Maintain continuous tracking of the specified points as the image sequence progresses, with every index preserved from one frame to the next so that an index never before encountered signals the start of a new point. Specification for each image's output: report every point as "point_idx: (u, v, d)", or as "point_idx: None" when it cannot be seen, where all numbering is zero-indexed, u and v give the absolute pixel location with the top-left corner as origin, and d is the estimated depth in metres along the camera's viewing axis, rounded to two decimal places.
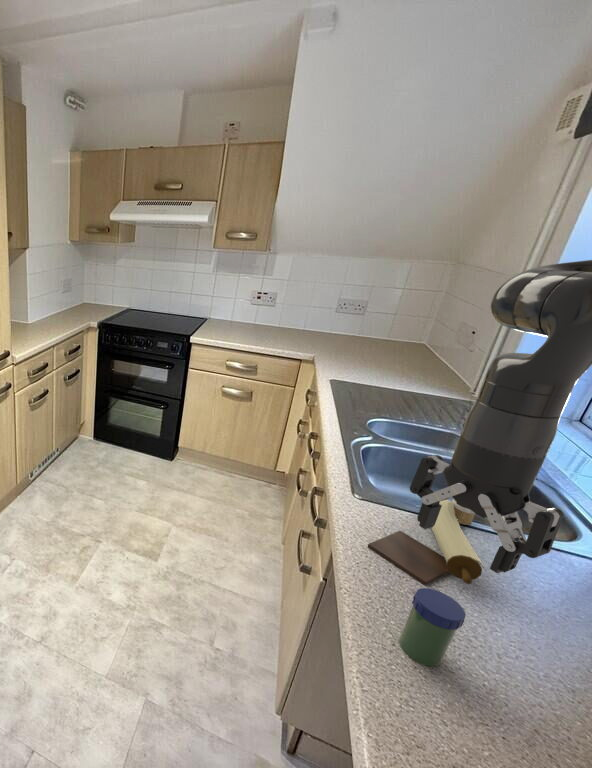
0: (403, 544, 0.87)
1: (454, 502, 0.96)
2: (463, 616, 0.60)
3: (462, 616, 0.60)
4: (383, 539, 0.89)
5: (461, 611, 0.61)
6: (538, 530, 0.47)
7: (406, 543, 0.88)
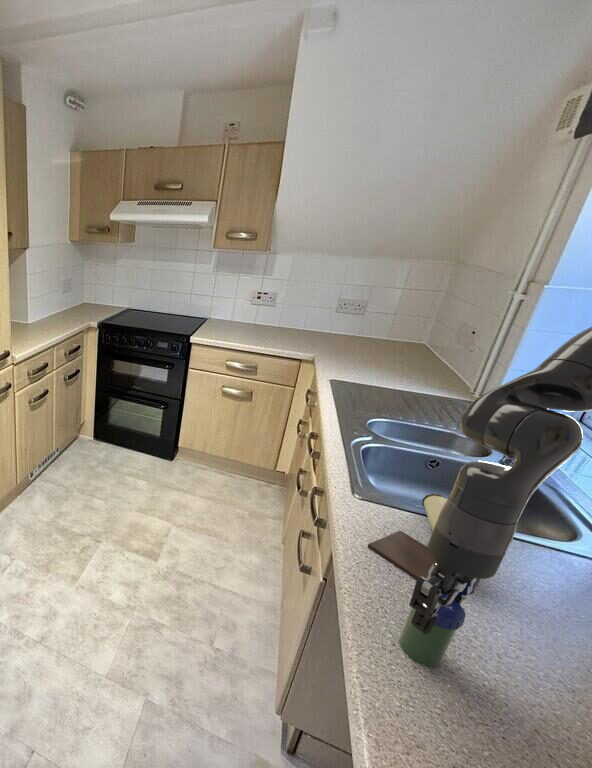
0: (403, 544, 0.87)
1: None
2: (463, 616, 0.60)
3: (462, 616, 0.60)
4: (383, 539, 0.89)
5: (461, 611, 0.61)
6: None
7: (406, 543, 0.88)
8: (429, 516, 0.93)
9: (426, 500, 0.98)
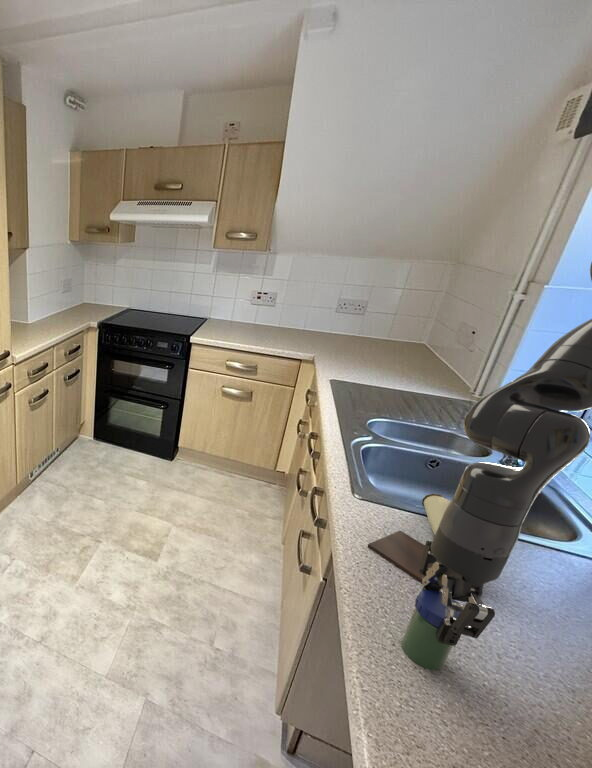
0: (403, 544, 0.87)
1: None
2: None
3: None
4: (383, 539, 0.89)
5: (455, 602, 0.63)
6: None
7: (406, 543, 0.88)
8: (429, 516, 0.93)
9: (426, 500, 0.98)
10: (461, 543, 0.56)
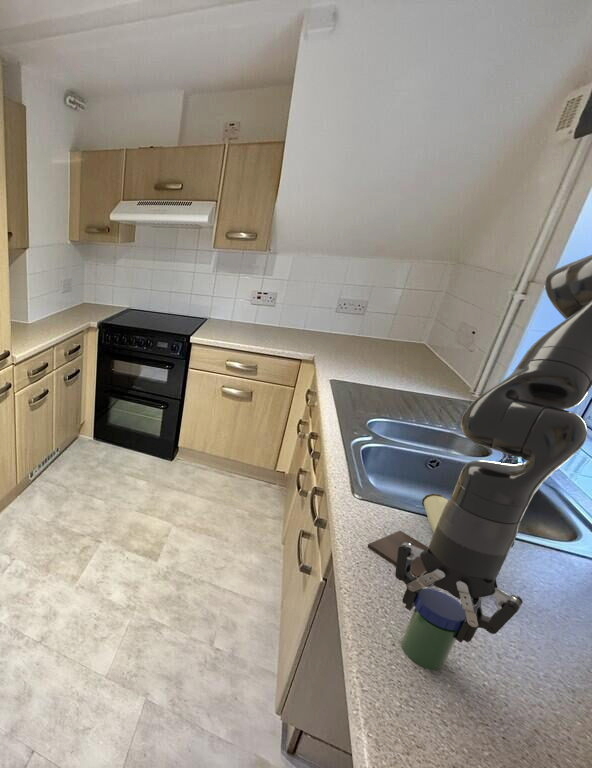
0: None
1: None
2: (443, 593, 0.64)
3: (444, 594, 0.64)
4: (383, 539, 0.89)
5: (436, 591, 0.64)
6: None
7: None
8: (429, 516, 0.93)
9: (426, 500, 0.98)
10: (492, 552, 0.54)
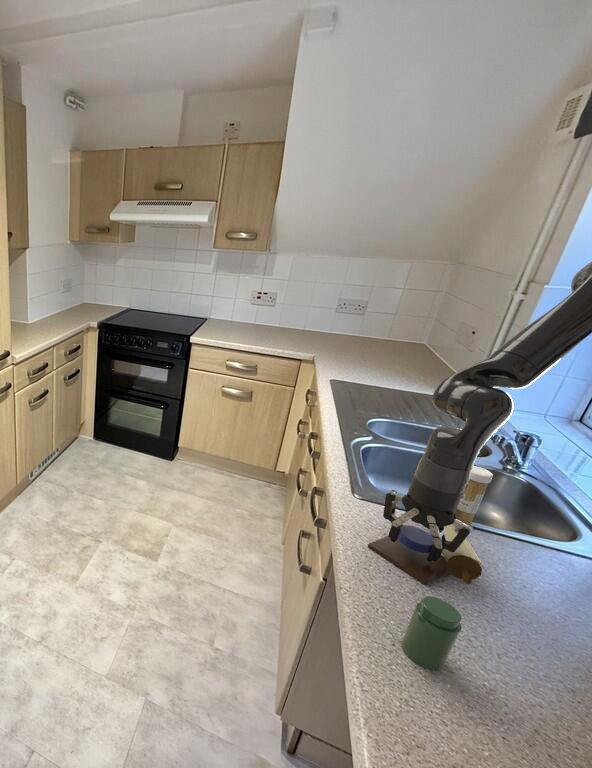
0: None
1: None
2: (419, 528, 0.85)
3: (420, 529, 0.85)
4: (383, 539, 0.89)
5: (413, 527, 0.86)
6: None
7: None
8: None
9: None
10: (451, 491, 0.75)
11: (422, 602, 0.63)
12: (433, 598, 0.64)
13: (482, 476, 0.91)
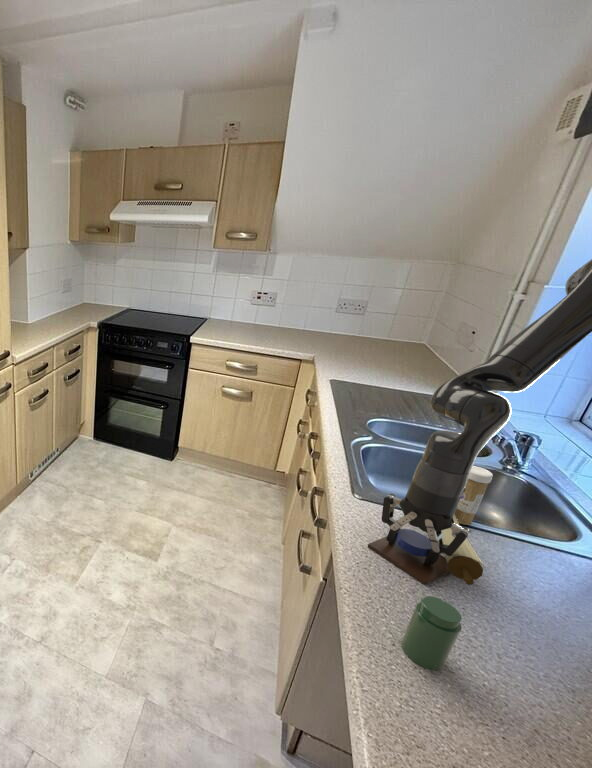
0: None
1: None
2: (417, 532, 0.86)
3: (417, 532, 0.86)
4: (383, 539, 0.89)
5: (411, 531, 0.86)
6: None
7: None
8: None
9: None
10: (449, 495, 0.76)
11: (422, 602, 0.63)
12: (433, 598, 0.64)
13: (482, 476, 0.91)
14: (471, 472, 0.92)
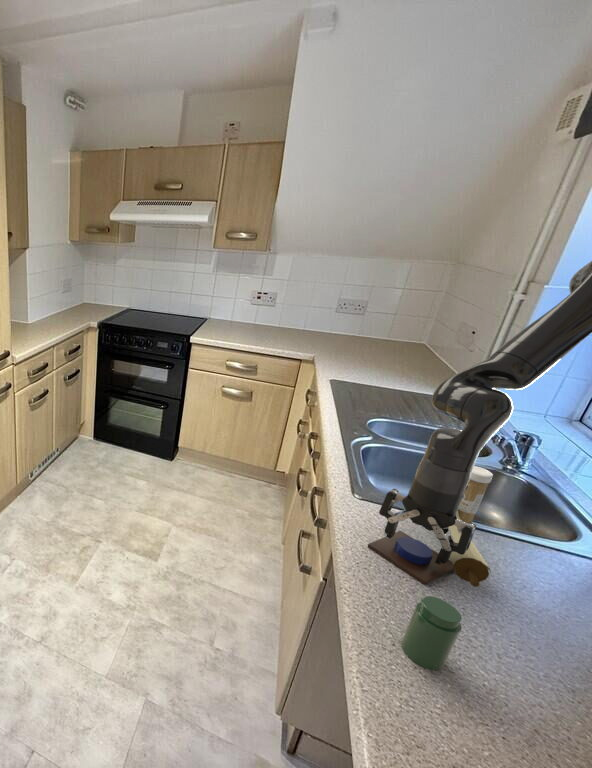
0: None
1: None
2: (416, 540, 0.86)
3: (417, 540, 0.86)
4: (383, 539, 0.89)
5: (411, 539, 0.86)
6: None
7: None
8: None
9: None
10: (452, 492, 0.75)
11: (422, 602, 0.63)
12: (433, 598, 0.64)
13: (482, 476, 0.91)
14: (471, 472, 0.92)
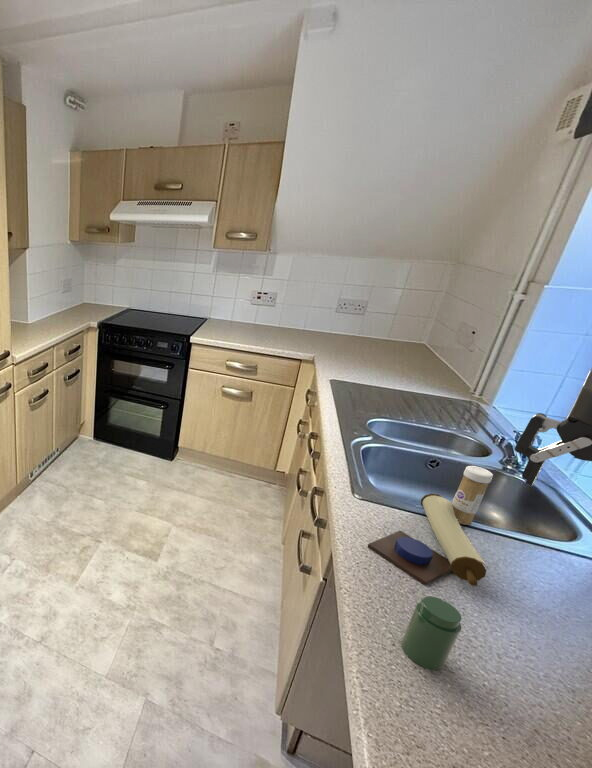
0: None
1: (454, 502, 0.96)
2: (416, 540, 0.86)
3: (417, 540, 0.86)
4: (383, 539, 0.89)
5: (411, 539, 0.86)
6: None
7: None
8: (429, 516, 0.93)
9: (425, 500, 0.98)
10: None
11: (422, 602, 0.63)
12: (433, 598, 0.64)
13: (482, 476, 0.91)
14: (471, 472, 0.92)
